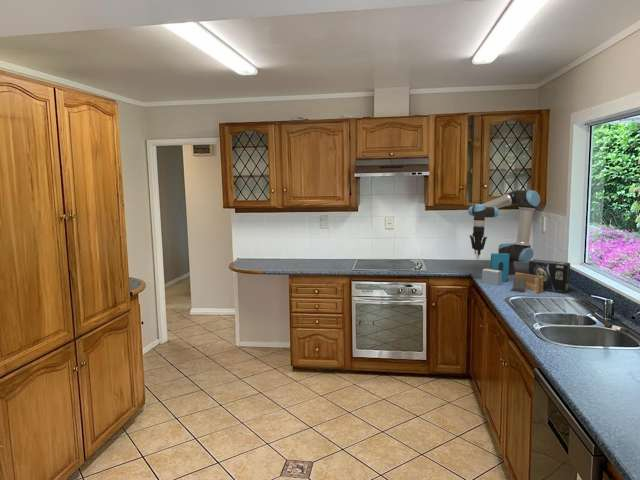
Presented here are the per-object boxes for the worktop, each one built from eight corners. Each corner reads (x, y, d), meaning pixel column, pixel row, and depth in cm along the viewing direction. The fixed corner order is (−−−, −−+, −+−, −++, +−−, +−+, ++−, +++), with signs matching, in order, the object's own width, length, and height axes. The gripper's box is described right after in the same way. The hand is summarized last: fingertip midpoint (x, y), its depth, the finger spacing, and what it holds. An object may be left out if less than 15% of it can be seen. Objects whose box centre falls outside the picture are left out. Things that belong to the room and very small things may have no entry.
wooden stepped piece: (515, 286, 315) (516, 272, 313) (543, 291, 301) (543, 276, 299) (507, 289, 308) (508, 274, 307) (535, 294, 294) (536, 278, 293)
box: (527, 288, 310) (528, 260, 307) (532, 285, 317) (533, 258, 315) (565, 294, 295) (567, 264, 292) (569, 291, 302) (571, 262, 299)
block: (491, 282, 328) (493, 254, 326) (489, 280, 333) (490, 253, 331) (508, 282, 328) (510, 254, 326) (505, 280, 333) (507, 253, 331)
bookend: (513, 289, 306) (514, 277, 305) (525, 291, 300) (525, 279, 299) (510, 290, 303) (510, 278, 302) (521, 292, 297) (522, 280, 296)
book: (485, 282, 329) (486, 268, 327) (501, 285, 319) (502, 270, 318) (481, 283, 325) (482, 269, 324) (497, 286, 316) (498, 271, 315)
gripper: (467, 225, 328) (466, 258, 331) (484, 227, 319) (482, 260, 321) (473, 225, 333) (471, 257, 336) (490, 226, 323) (488, 259, 326)
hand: (477, 259), depth 329 cm, fingers closed
